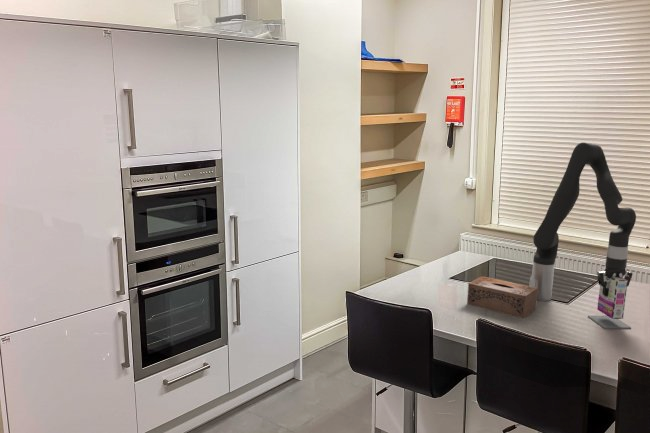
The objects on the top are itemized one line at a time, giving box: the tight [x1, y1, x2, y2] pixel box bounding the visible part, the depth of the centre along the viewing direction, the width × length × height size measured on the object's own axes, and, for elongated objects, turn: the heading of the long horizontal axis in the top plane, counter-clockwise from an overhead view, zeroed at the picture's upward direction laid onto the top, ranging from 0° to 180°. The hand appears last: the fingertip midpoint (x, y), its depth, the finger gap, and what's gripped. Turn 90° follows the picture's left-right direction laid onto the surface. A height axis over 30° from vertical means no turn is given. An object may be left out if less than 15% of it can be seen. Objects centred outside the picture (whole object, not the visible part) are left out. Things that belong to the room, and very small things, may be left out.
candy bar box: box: [596, 275, 628, 320], centre depth 227 cm, size 11×5×16 cm, turn 5°
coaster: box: [587, 315, 632, 330], centre depth 229 cm, size 11×13×1 cm
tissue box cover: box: [466, 275, 538, 319], centre depth 246 cm, size 26×14×10 cm, turn 50°
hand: (612, 295), depth 227 cm, fingers closed on candy bar box, 5 cm apart
